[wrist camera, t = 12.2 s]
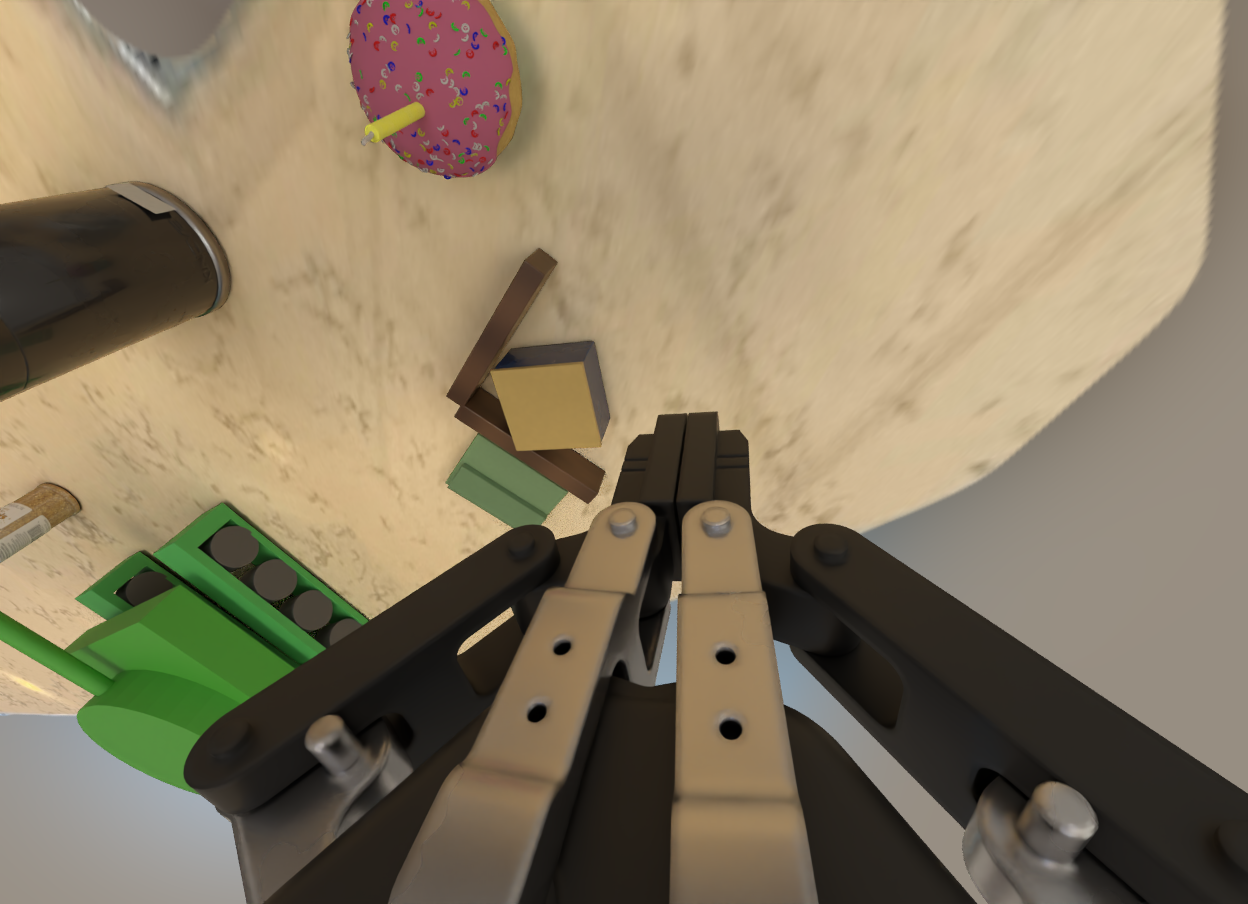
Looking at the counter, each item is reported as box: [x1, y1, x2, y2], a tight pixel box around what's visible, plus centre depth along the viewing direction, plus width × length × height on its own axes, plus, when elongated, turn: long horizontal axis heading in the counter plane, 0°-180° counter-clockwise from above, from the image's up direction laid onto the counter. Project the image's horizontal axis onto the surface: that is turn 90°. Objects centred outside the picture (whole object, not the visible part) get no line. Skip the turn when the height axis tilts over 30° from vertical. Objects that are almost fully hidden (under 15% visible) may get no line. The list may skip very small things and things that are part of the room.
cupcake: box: [347, 0, 522, 179], centre depth 25 cm, size 9×8×12 cm
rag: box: [446, 433, 568, 528], centre depth 46 cm, size 9×7×1 cm
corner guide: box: [446, 248, 605, 504], centre depth 39 cm, size 10×19×3 cm, turn 9°
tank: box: [0, 503, 368, 795], centre depth 58 cm, size 24×35×16 cm
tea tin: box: [490, 341, 610, 451], centre depth 38 cm, size 7×7×4 cm
